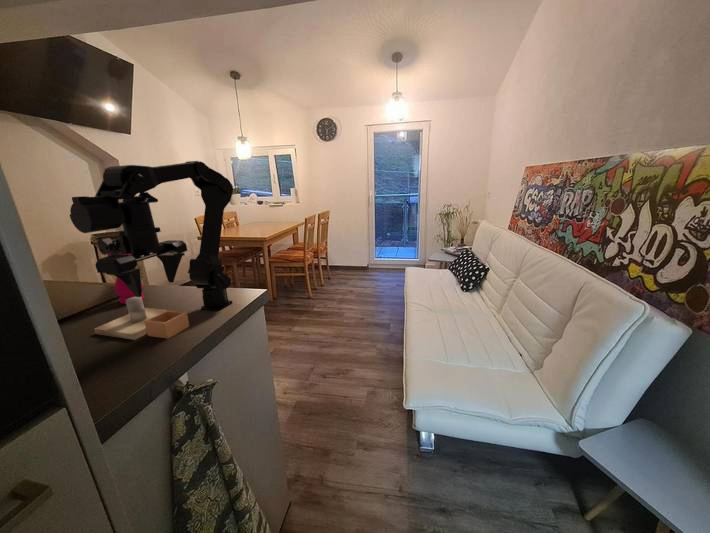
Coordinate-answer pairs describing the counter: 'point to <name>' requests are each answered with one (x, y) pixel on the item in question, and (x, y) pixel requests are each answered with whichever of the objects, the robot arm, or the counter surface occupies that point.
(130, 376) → the counter surface
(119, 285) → the pepper mill
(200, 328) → the counter surface
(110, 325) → the duct base
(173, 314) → the open square box
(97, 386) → the counter surface
